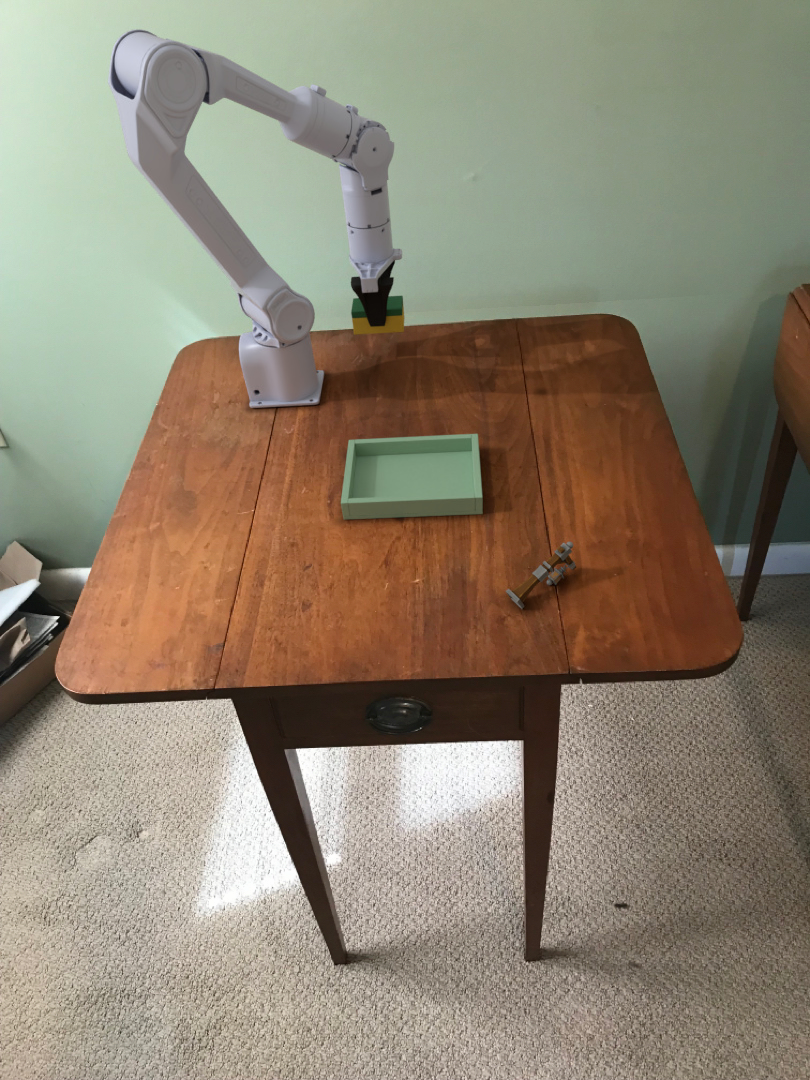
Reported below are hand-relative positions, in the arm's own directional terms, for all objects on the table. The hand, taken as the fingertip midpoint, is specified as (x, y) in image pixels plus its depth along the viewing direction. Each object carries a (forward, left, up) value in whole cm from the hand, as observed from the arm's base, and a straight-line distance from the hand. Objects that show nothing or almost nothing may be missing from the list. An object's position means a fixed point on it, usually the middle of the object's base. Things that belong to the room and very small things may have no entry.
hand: (378, 317), depth 108 cm
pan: (+5, -30, -6) cm, 31 cm away
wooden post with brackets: (+18, -47, -6) cm, 51 cm away
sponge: (0, 0, -1) cm, 1 cm away
